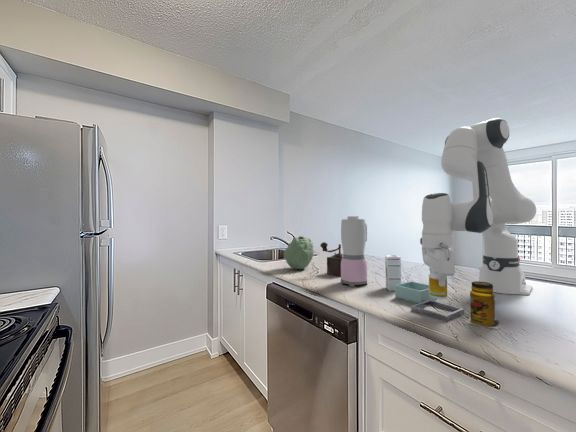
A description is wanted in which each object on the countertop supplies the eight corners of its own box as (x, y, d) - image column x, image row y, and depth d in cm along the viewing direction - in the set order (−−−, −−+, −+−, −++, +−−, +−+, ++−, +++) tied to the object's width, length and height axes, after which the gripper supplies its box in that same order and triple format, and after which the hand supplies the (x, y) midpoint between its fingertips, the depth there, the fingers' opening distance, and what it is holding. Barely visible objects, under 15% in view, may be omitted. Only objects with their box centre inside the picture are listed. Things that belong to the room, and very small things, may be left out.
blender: (354, 288, 118) (353, 216, 118) (335, 283, 128) (334, 216, 128) (377, 283, 127) (376, 216, 127) (357, 278, 137) (356, 216, 137)
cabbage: (278, 269, 162) (278, 236, 161) (301, 265, 174) (300, 234, 174) (296, 273, 150) (296, 238, 150) (319, 268, 163) (318, 235, 162)
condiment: (467, 323, 80) (466, 283, 80) (470, 315, 86) (470, 278, 86) (498, 330, 75) (497, 287, 75) (499, 320, 82) (499, 281, 82)
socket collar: (429, 303, 97) (429, 299, 97) (464, 313, 88) (464, 308, 88) (411, 310, 91) (411, 306, 91) (446, 321, 81) (446, 316, 81)
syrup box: (401, 291, 114) (401, 257, 114) (387, 290, 115) (386, 256, 115) (399, 287, 120) (398, 255, 119) (385, 286, 121) (384, 254, 121)
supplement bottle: (449, 299, 86) (449, 269, 86) (430, 298, 88) (430, 268, 88) (445, 294, 91) (444, 266, 91) (427, 293, 93) (427, 265, 93)
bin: (411, 293, 111) (410, 281, 111) (436, 299, 102) (436, 286, 102) (395, 297, 105) (395, 285, 105) (420, 305, 96) (420, 291, 96)
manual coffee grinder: (337, 271, 155) (337, 240, 155) (353, 274, 147) (353, 241, 147) (319, 275, 146) (318, 242, 146) (334, 278, 137) (334, 243, 137)
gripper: (460, 245, 78) (461, 292, 79) (437, 238, 98) (437, 276, 99) (437, 245, 80) (438, 291, 80) (418, 238, 100) (419, 275, 100)
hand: (437, 283), depth 89 cm, fingers closed on supplement bottle, 5 cm apart
